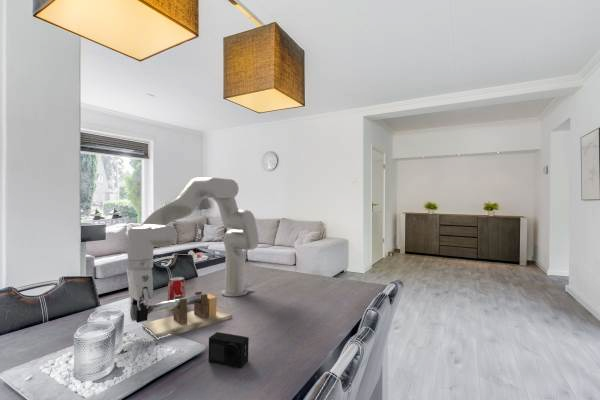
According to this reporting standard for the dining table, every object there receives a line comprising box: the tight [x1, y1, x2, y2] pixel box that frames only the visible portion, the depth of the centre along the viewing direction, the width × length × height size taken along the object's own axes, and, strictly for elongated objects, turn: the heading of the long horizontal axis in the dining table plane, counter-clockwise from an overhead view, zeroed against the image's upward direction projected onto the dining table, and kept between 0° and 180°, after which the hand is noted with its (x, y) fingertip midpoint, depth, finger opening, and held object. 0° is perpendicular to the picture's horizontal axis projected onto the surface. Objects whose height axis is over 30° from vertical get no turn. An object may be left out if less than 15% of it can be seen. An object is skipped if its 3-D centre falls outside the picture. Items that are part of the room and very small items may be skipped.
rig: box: [142, 290, 233, 338], centre depth 112 cm, size 28×14×10 cm, turn 135°
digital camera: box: [208, 331, 249, 370], centre depth 84 cm, size 10×5×7 cm, turn 73°
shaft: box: [129, 294, 201, 322], centre depth 107 cm, size 24×5×5 cm, turn 135°
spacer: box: [206, 292, 218, 317], centre depth 117 cm, size 3×7×7 cm, turn 45°
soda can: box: [167, 276, 186, 301], centre depth 128 cm, size 7×7×12 cm
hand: (139, 318), depth 99 cm, fingers closed on shaft, 4 cm apart
